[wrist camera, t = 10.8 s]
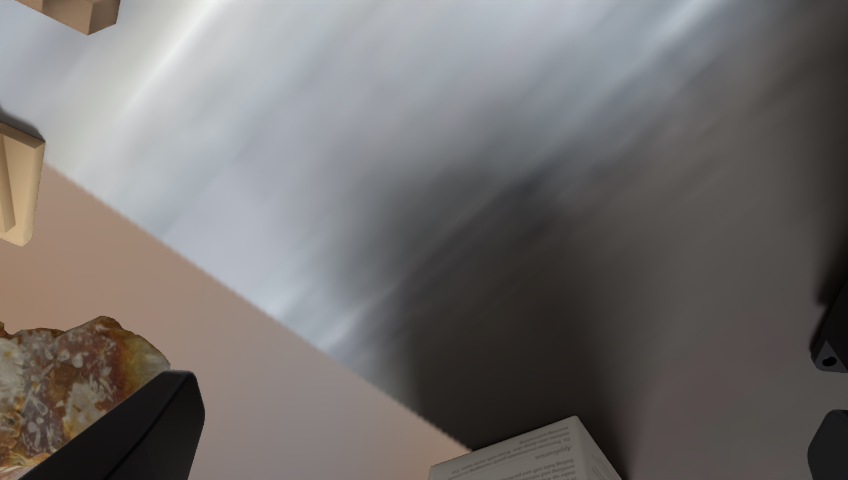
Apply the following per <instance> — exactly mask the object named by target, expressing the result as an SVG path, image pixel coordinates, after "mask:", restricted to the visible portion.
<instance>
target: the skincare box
mask: <svg viewBox="0 0 848 480" xmlns="http://www.w3.org/2000/svg"><path fill="white" fill-rule="evenodd" d="M428 480H622V479H621V478H620V476H619V475H618V474H617V472H616V471H615V469H614V468H613V467H612V465H611V464H610V462H609V461H608V460H607V458H606V457H605V455H604V454H603V452H602V451H601V450H600V448H599V447H598V446H597V444H596V443H595V441H594V440H593V439H592V437H591V436H590V434H589V433H588V431H587V430H586V428H585V427H584V426H583V424H582V423H581V421H580V420H579V418H578V417H577V416H572V417H569V418H566V419H564V420H561V421H558V422H555V423H552V424H550V425H547V426H544V427H541V428H538V429H536V430H533V431H530V432H527V433H524V434H522V435H519V436H516V437H513V438H510V439H508V440H505V441H502V442H499V443H496V444H494V445H491V446H488V447H485V448H482V449H479V450H477V451H474V452H471V453H468V454H465V455H462V456H459V457H457V458H454V459H451V460H448V461H445V462H442V463H440V464H437V465H434V466H431V468H430V469H429V477H428Z"/></svg>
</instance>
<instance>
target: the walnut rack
mask: <svg viewBox="0 0 848 480" xmlns="http://www.w3.org/2000/svg"><path fill="white" fill-rule="evenodd" d="M16 1H18V2H20V3H22V4H24V5H26V6H28V7H30V8H32V9H34V10H36V11H38V12H40V13H42V14H44V15H47V16H49V17H51V18H53V19H55V20H57V21H59V22H61V23H63V24H65V25H67V26H69V27H71V28H73V29H75V30H77V31H79V32H81V33H83V34H86V35H90V34H92V33H95V32H97V31H99V30H102V29H104V28H106V27H109V26H111V25H113V24H116V20H117V15H118V10H119V5H120V0H16Z"/></svg>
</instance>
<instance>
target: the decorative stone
mask: <svg viewBox="0 0 848 480" xmlns="http://www.w3.org/2000/svg"><path fill="white" fill-rule="evenodd" d="M164 370H170V363H169V362H168V360H167V359H166V357H165V356H164V355H163V354H162V353H161V352H160V351H159V350H158V349H156V348H155V347H154V346H153V345H152V344H150V343H149V342H148V341H147V340H146V339H144V338H143V337H141V336H140V335H135V334H134V333H132V332H131V331H127V330H124V329H123V328H122V327H121V326H120V324H119V323H118V322H117V321H115V319H113V318H110V317H106V316H99V317H98V318H96V319H93V320H91V321H89V322H87V323H85V324H83V325H80V326H78V327H75V328H72V329H70V330H68V331H65V332H64V331H61V330H57V329H47V328H37V329H31V330H21V331H19V332H17V333H15V334H14V335H10V334H8V333H7V332H6V331H5V330H4V323H2V322H0V480H10V479H12V478H13V477H14V476H15V475H17V474H18V473H19V472H21V471H23V470H24V469H26V468H28V467H30V466H31V465H34V464H37V463H41V462H42V461H43V460H45V459H46V458H47V457H49V456H50V455H51V454H53V453H54V452H55V451H57V450H58V449H59V448H61V447H62V446H63V445H65V444H66V443H67V442H69V441H70V440H71V439H72V438H74V437H75V436H76V435H78V434H79V433H80V432H82V431H83V430H84V429H86V428H87V427H88V426H90V425H91V424H92V423H94V422H95V421H96V420H98V419H99V418H100V417H102V416H103V415H104V414H106V413H107V412H108V411H110V410H111V409H112V408H114V407H115V406H116V405H118V404H119V403H120V402H122V401H123V400H124V399H126V398H127V397H128V396H130V395H131V394H132V393H134V392H135V391H136V390H138V389H139V388H140V387H142V386H143V385H144V384H146V383H147V382H148V381H150V380H151V379H152V378H154V377H155V376H156V375H158V374H159V373H160V372H162V371H164Z"/></svg>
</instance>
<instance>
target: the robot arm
mask: <svg viewBox="0 0 848 480" xmlns="http://www.w3.org/2000/svg"><path fill="white" fill-rule="evenodd" d="M827 357H829V358H827ZM825 358H827V359H825ZM811 359H812V361H813V363H814V364H815V366H816V368H818V369H819V370H822V371H829V372H840V373H848V279H847V280H846V281H845V283H844V285H843V287H842V289H841V292H840V294H839V296H838V298H837V300H836V302H835V304H834V306H833V308H832V310H831V312H830V314H829V316H828V318H827V320H826V322H825V324H824V326H823V328H822V331H821V335H820V337H819V339H818V341H817V343H816V345H815V347H814V349H813V351H812V353H811ZM204 420H205V409H204V404H203V401H202V397H201V393H200V390H199V386H198V382H197V379H196V376H195V375H194V373H193V372H190V371H183V370H164V371H162V372H160V373H159V374H158V375H156V376H155V377H154V378H152V379H151V380H150V381H148V382H147V383H146V384H144V385H143V386H142V387H140V388H139V389H138V390H136V391H135V392H134V393H132V394H131V395H130V396H128V397H127V398H126V399H124V400H123V401H122V402H120V403H119V404H118V405H116V406H115V407H114V408H112V409H111V410H110V411H108V412H107V413H106V414H104V415H103V416H102V417H100V418H99V419H98V420H96V421H95V422H94V423H92V424H91V425H90V426H88V427H87V428H86V429H84V430H83V431H82V432H80V433H79V434H78V435H76V436H75V437H74V438H72V439H71V440H70V441H69V442H67V443H66V444H65V445H63V446H62V447H61V448H59V449H58V450H57V451H55V452H54V453H53V454H51V455H50V456H49V457H47V458H46V459H45V460H43V461H42V462H41V463H39V464H38V465H37V466H35V467H34V468H33V469H31V470H30V471H29V472H27V473H26V474H25V475H23V476H22V477H21V478H19V479H18V480H188V476H189V473H190V470H191V466H192V463H193V460H194V456H195V453H196V449H197V446H198V442H199V439H200V436H201V432H202V429H203V425H204ZM808 464H809V468H810V471H811V474H812V478H813V480H848V410H837V409H836V410H832V411H830V412H829V413H827V415H826V416H825V418H824V420H823V421H822V423H821V425H820V427H819V429H818V430H817V432H816V434H815V436H814V438H813V440H812V441H811V443H810V445H809V448H808Z"/></svg>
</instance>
